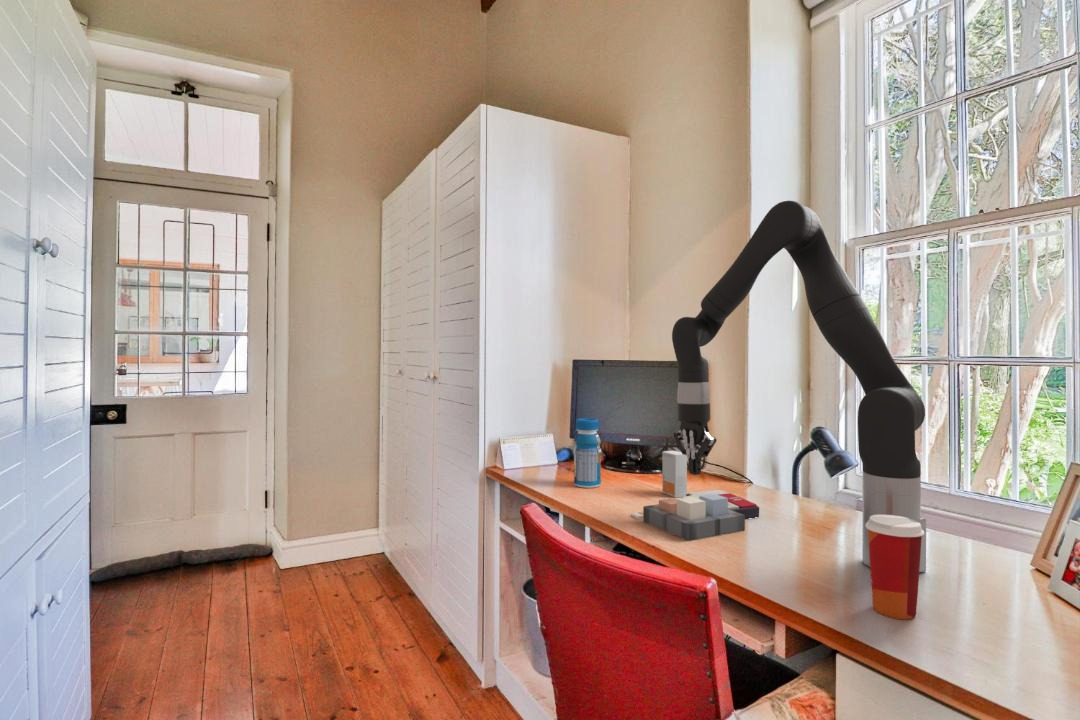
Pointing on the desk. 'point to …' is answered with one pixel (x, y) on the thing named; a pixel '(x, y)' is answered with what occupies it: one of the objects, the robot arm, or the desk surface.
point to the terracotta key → (668, 505)
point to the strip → (637, 515)
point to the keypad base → (694, 523)
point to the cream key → (691, 508)
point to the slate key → (715, 504)
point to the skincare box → (674, 473)
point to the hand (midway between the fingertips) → (694, 474)
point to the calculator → (734, 503)
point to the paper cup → (894, 564)
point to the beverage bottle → (587, 454)
